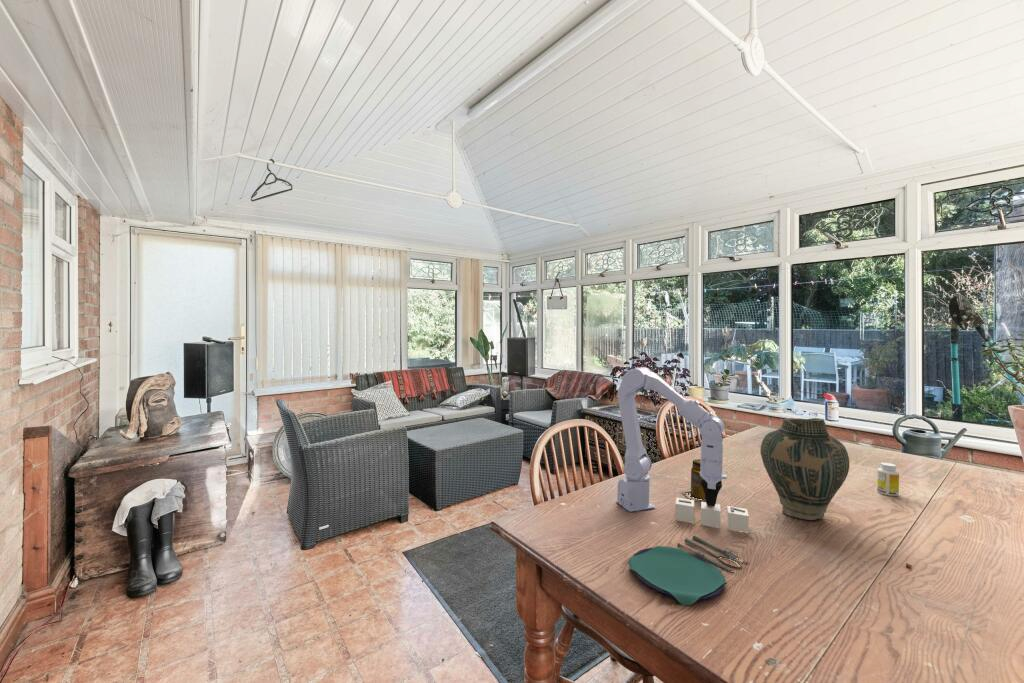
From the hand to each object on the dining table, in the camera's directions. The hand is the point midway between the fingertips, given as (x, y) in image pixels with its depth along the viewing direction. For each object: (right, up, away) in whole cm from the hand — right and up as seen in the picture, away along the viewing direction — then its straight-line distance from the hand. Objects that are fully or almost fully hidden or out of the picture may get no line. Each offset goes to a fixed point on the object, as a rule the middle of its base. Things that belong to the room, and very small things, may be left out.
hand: (710, 505), depth 120 cm
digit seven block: (+6, -5, -3) cm, 9 cm away
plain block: (0, -5, 0) cm, 5 cm away
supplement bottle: (+73, -5, +23) cm, 76 cm away
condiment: (+5, -5, +20) cm, 21 cm away
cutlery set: (-16, -6, -24) cm, 29 cm away
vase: (+31, -5, +6) cm, 32 cm away
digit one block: (-6, -5, +3) cm, 9 cm away
